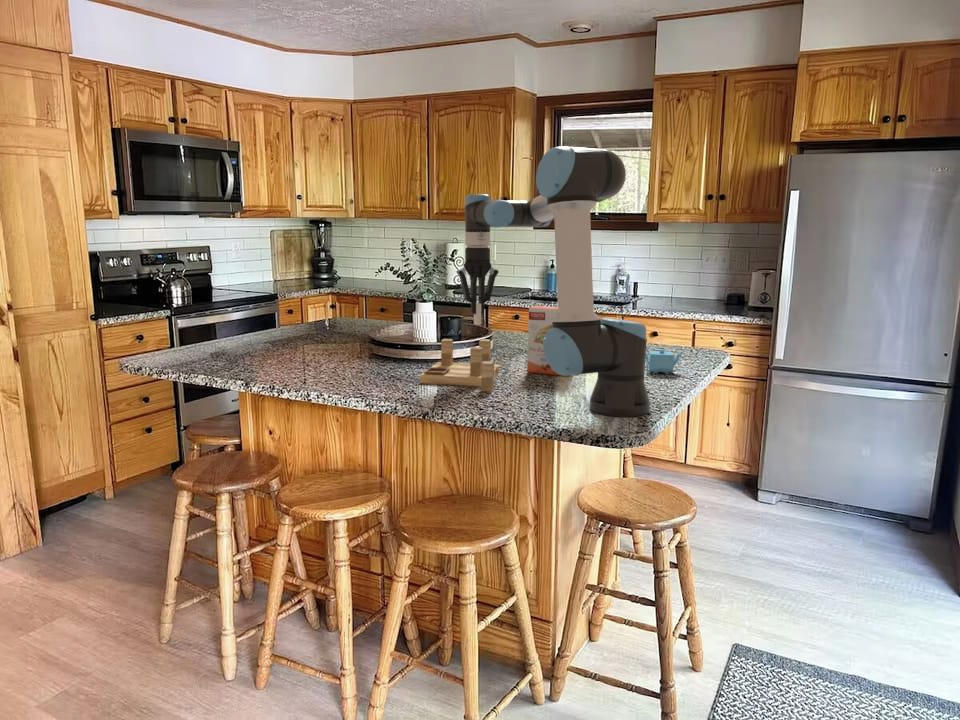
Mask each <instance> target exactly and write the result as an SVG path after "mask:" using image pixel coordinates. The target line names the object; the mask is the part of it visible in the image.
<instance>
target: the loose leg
mask: <svg viewBox="0 0 960 720" xmlns="http://www.w3.org/2000/svg"><path fill="white" fill-rule="evenodd" d="M494 365H495V361H494V362H490V361H483V362H482V375H481V386H480V387H481V390H480V391H481V392H491V393H492V392H493V391H494V389H495V378H494Z"/></svg>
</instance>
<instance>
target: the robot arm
mask: <svg viewBox="0 0 960 720" xmlns="http://www.w3.org/2000/svg"><path fill="white" fill-rule="evenodd" d="M536 170H537V171H536V175H535V176H536V177H535V183H536V189H537V191H538V194H539V195H538V196H536V197H534V198H533V199H530V200H504V199H494V200H493V199H492V200H491V196H490V195H489V194H486V193H485V194H484V193H478V194H477V193H475V194H474V193H472V194H467V195H466V196H465V204H464V218H465V219H464V223H465V224H464V227H465V229H464V230H465V232H464V233H465V234H464V235H465V236H464V237H465V238H464V240H465V241H464V243H465V244H464V245H465V246H466V248H464V249H465V251H464V252H465V253H464V254H465V255H464V256H465V257H464V258H465V260H464V261H465V262H464V264H463V267H462V268H460V269H457V270H456V275H458V277H459V280H460V284H461V288H462V292H463V296H464V300H465V302H468V303H470V313H471V314H473V324H474V325H476V326H481V325H482V314H484V313H485V304H486V303H487V302H489V301H491V298H492V293H493V289H494V285H495V280H496V277H497V275H498V274H499V269H495V268H494V267H492V263H491V249H490V247H489V246H490V245H491V228H542V227H543V228H544V227H548V226H549V225H550V224H551V223H552V221H553V220H554V223H553V224H554V242H555V269H556V290H557V293H556V294H557V295H556V296H557V307H558V314H557V316H556V317H555V318H554V319H553V320H552V328H551V329H550V330H548V331H547V332H546V334H545V337H544V340H543V349H544V354H545V358H546V360H547V362H548V364H549V365H550V366H551V368H552V369H553V371H555V372H556V373H557V374H559V375H558V376H561V375H563V376H565V377H568V376H567V375H570V376H572V377H573V376H574V377H576V376H580V375H586V374H595V373H597V379H596V383H595V385H594V388H593V390H592V392H591V393H592V394H591V396H590V397H589V409H590V410H591V411H593V412H595V413H597V414H601V415H604V416H610V417H625V418H626V417H630V418H631V417H639V416H644V415H646V414H648V413H650V410H651V408H650V406H651V402H650V397H649V394H648V391H647V387H646V383H645V367H646V359H645V355H646V354H647V353H646V351H647V350H646V349H647V342H648V339H647V327H646V325H645V324H643V323H641V322H638V321H632V320H626V319H620V318H619V319H618V318H611V317H610V318H609V317H600V316H599V315H598V314H597V313H596V312H595V309H594V287H593V286H594V284H593V283H594V281H593V259H592V258H593V256H592V253H593V252H592V233H591V232H592V230H591V225H592V224H591V223H592V222H591V210H593V208H594V207H595V206H596V205H597V203H600V202H603V201H606V200H609V199H610V198H612V197H614V196H616V195H617V194H618V193H620V191H621V190H622V188H623V187H624V185H625V182H626V178H627V177H626V176H627V171H626V166H625V164H624V162H623V160H622V159H621V157H620V156H619V155H618V154H617V153H615V152H613V151H611V150H608V149H605V148H591V147H590V148H589V147H579V146H556V147H551V148H550V149H548V150H547V151H546V152H545V153H544V154H543V156H542V158H541V159H540V162H539V163H538V167H537V169H536ZM488 273H489V276H488V280H487V284H486V282H485V281H486V276H487V274H488ZM466 275H468V276H469V280H470V289H469V284H468V281H467V276H466ZM477 283H478V284H477ZM477 285H478V287H477ZM485 285H486V286H485ZM477 290H478V291H477ZM477 292H478V293H477ZM477 294H478V296H477ZM477 297H478V298H477ZM477 299H478V301H477ZM563 376H562V377H563Z"/></svg>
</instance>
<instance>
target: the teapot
mask: <svg viewBox="0 0 960 720" xmlns="http://www.w3.org/2000/svg"><path fill="white" fill-rule="evenodd" d="M684 354H685V353H683V352H681V353H678V354H677V355H676V356H675V355H674V353H673V351H666V350H665V349H663V348H662V349H661V348H660V349H659V350H650V351H649V352H648V353H646V355H645V362H647V363H645V367H646V368H648V370H649V372H651V373H652V374H653V373H657V374H658V373H663V374H664V373H665V374H664V375H666V374H669V375H670V373H674V367H675V366H676V365H677V363H678V362H679V359H680V357H681V356H682V355H684ZM648 356H649V357H648Z"/></svg>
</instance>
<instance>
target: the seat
mask: <svg viewBox="0 0 960 720" xmlns="http://www.w3.org/2000/svg"><path fill="white" fill-rule="evenodd" d="M440 346H441V347H440V349H441V350H440V357H441V359H440V361H438V362H437V361H436V363H435V364H433V365H432V366H430V367H428V368H427V369H426V370H425V371H423V372H422V373H421V374H420V376H419V377H420V378H419V379H420V384H428V385H429V384H431V385H432V384H433V385H447V386H448V385H450V386H468V387H469V386H470V387H481V375H482V357H483V347H479V346H472V347H471V348H470V349H469V350H470V351H469V352H470V355H469V356H470V359H469V360H470V362H454V339H453V338H443V339H441V340H440ZM491 362H494V363H495V361H494V360H492V361H491ZM499 373H500V364H494V379H495V378H496V377H497V376H498V375H499Z"/></svg>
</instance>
